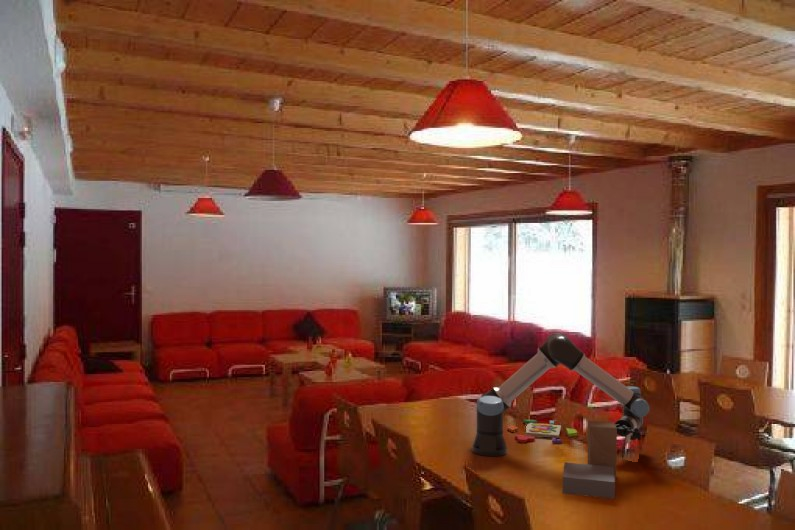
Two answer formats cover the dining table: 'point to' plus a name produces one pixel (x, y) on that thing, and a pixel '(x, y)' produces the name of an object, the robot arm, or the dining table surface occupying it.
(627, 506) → the dining table surface
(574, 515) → the dining table surface
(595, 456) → the wooden block
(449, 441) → the dining table surface
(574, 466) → the plinth
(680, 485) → the dining table surface
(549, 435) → the pattern blocks set
